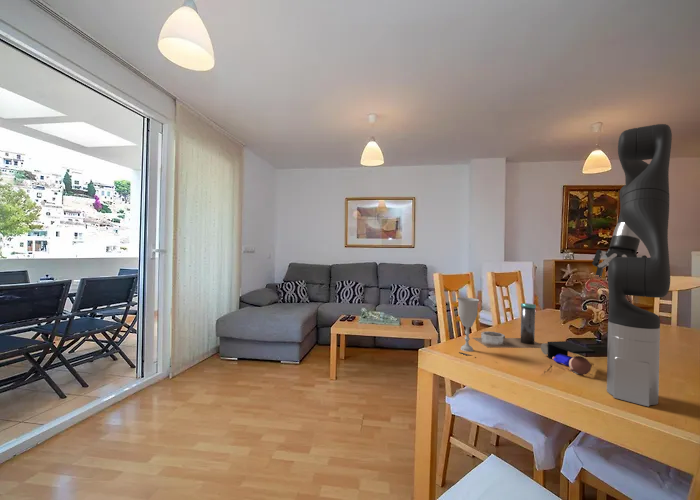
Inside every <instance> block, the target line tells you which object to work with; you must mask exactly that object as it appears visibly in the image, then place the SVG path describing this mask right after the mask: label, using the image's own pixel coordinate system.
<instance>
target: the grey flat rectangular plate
mask: <svg viewBox="0 0 700 500" xmlns="http://www.w3.org/2000/svg"><path fill="white" fill-rule="evenodd" d="M472 339H473V340H475V341H477V342H478V343H480V344H481V345H482V346H484V347H486V348H490V349H491V348H499V349H500V348H502V349H503V348H505V349H506V348H511V349H513V348H514V349H515V348H516V349H517V348H518V349H520V348H521V349H526V348H527V349H533V348H534V349H541V344H542V343H539V342H537V341H535V340H534V344H524V343H521V337H505V344H504V345H501V346H496V345H489V344H485V343H483V342H482V341H481V337H472Z"/></svg>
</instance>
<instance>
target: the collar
mask: <svg viewBox="0 0 700 500" xmlns="http://www.w3.org/2000/svg"><path fill="white" fill-rule="evenodd" d="M480 335H481V336H480V338H481V341H482V342H483V343H485V344H489V345H496V346H501V345H504V344H505V338H506V335H505V334H504V333H502V332H495V331H481V334H480Z"/></svg>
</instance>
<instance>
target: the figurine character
mask: <svg viewBox="0 0 700 500" xmlns="http://www.w3.org/2000/svg"><path fill="white" fill-rule="evenodd" d="M540 344H541V348H540V349H541V352H542V354H544V355H545V356H547V358H548V359H552V360H553V361H554V362H556V363H559V364H562V365H565V366H568V367H569V369H570V370H571V371H572V372H573V373H575V374H576V375H580V376H581V375H583V376H584V375H588V374H589V373H590V372H591V369H592V364H591V362H590V361H589V359H587V358H586V357H583V356H580V355H578V356H577V354H596V350H594V349H591V348H588V347H584V346H582V345H578V344H577V343H576V344H575V343H572V342H569V341H566V340H565V341H563V340H561V341H547V342H546V343H545V342H543V343H540ZM569 353H572V354H576V355H575V356H570V355H568V354H569Z"/></svg>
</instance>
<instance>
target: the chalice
mask: <svg viewBox="0 0 700 500" xmlns="http://www.w3.org/2000/svg"><path fill="white" fill-rule="evenodd" d="M456 300H457V301H458V309H457V311H458V315H459V319H460V322H461V323H462V326H463V327H465V332H464V334H465V336H464V340H465V343H464V344H463V345H461V347H460V350H461V351H462V352H460V351H459V352H458V354H460V355H462V354H463V356H469V357H470V356H474V355H472V354H469V352H474V349H473V346H472V345H470V343H469V342H470V340H471V339H470V334H471V332H470V328H472V326H473V325H474V323H475V321H476V319H477V316H478V308H479V307H478V304H479V302H480V299H478V298H474V297H457V298H456ZM463 351H464V352H468V353H464V352H463Z"/></svg>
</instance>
